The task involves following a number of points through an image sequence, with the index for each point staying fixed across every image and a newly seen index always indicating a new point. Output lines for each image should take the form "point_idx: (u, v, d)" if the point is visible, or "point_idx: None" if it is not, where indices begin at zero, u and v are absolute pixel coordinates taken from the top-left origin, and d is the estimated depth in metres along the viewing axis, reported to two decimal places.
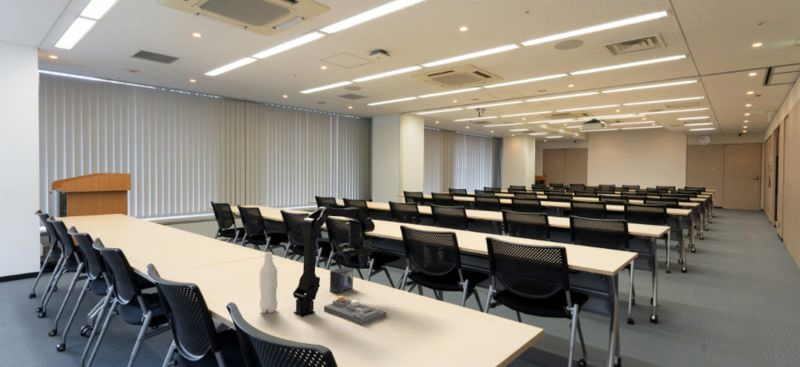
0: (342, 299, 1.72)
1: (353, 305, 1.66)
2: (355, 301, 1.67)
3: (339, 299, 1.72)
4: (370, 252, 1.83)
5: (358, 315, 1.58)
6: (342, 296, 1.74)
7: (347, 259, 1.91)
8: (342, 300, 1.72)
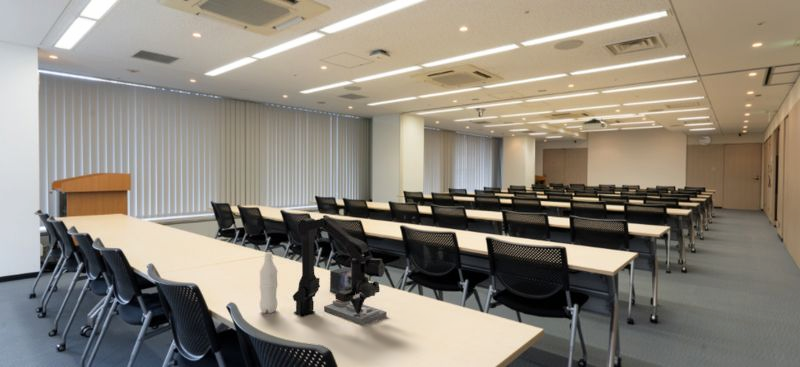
0: None
1: None
2: None
3: None
4: (341, 299, 1.50)
5: (361, 314, 1.59)
6: None
7: None
8: None
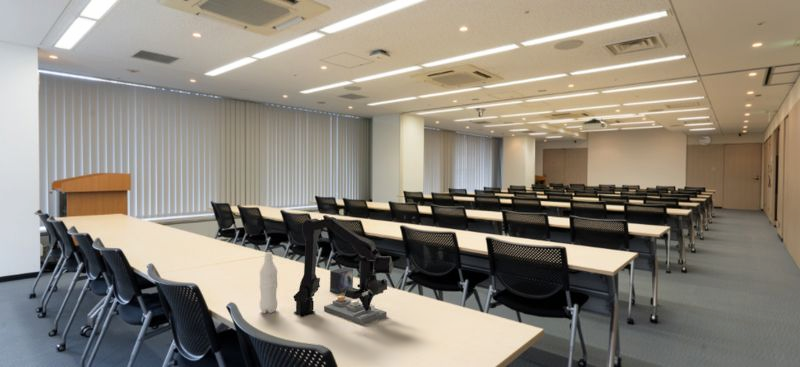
0: (342, 299, 1.72)
1: (353, 305, 1.66)
2: (355, 301, 1.67)
3: (339, 299, 1.72)
4: (350, 296, 1.54)
5: (369, 311, 1.62)
6: (342, 296, 1.74)
7: None
8: (342, 300, 1.72)
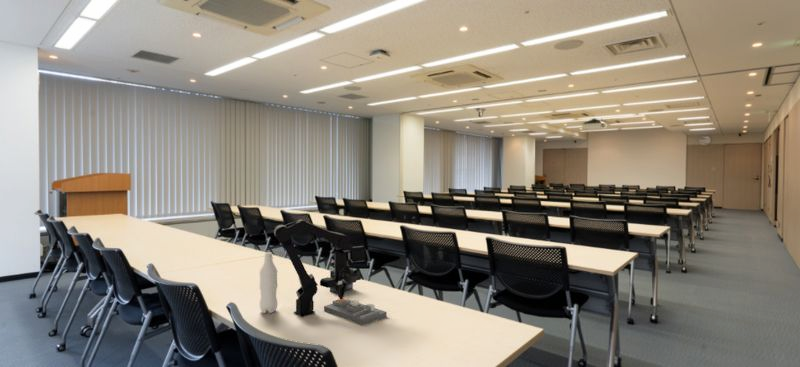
0: (342, 301, 1.72)
1: (353, 305, 1.66)
2: (355, 301, 1.67)
3: (339, 301, 1.72)
4: (325, 285, 1.66)
5: (369, 311, 1.62)
6: None
7: None
8: None
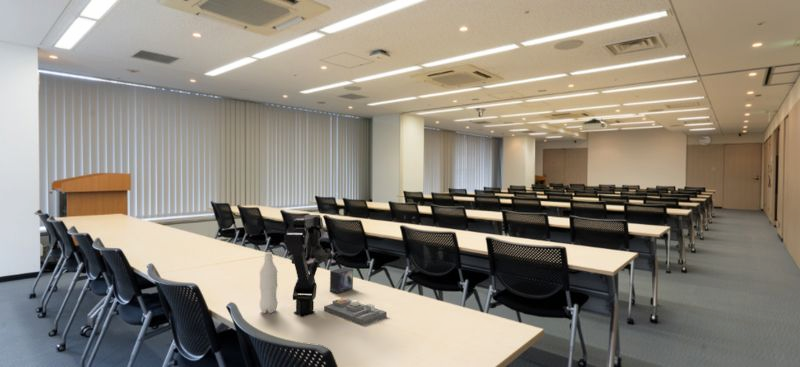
0: None
1: (353, 305, 1.66)
2: (355, 301, 1.67)
3: (339, 302, 1.72)
4: None
5: (369, 311, 1.62)
6: (342, 299, 1.74)
7: None
8: None
